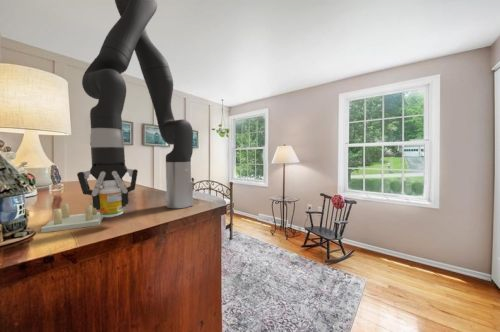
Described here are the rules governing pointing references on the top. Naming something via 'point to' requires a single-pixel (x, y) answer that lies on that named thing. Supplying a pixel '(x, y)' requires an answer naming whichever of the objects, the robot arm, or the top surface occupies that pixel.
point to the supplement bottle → (110, 199)
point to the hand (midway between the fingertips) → (111, 207)
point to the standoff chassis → (72, 219)
